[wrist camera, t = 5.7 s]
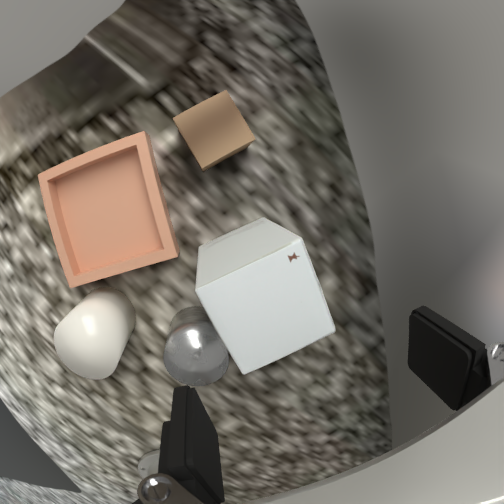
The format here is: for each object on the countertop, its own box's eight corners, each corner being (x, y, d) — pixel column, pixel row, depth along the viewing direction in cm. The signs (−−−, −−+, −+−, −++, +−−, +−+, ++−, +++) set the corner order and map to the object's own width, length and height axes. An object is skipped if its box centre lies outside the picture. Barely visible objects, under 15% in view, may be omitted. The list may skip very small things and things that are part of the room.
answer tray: (179, 251, 29) (177, 256, 26) (79, 280, 28) (70, 288, 25) (149, 135, 26) (144, 131, 24) (49, 175, 25) (38, 174, 22)
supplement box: (196, 245, 29) (190, 286, 17) (264, 215, 29) (305, 234, 17) (226, 308, 31) (241, 378, 19) (290, 279, 31) (339, 332, 19)
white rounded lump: (144, 333, 30) (129, 374, 22) (97, 344, 30) (74, 382, 22) (123, 280, 29) (99, 310, 21) (75, 294, 28) (43, 324, 20)
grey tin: (230, 346, 32) (236, 377, 26) (180, 359, 31) (177, 391, 26) (215, 300, 31) (218, 325, 25) (162, 314, 30) (153, 341, 24)
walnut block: (247, 147, 28) (255, 138, 23) (203, 172, 28) (202, 168, 23) (222, 105, 27) (226, 90, 22) (178, 129, 26) (172, 118, 22)
